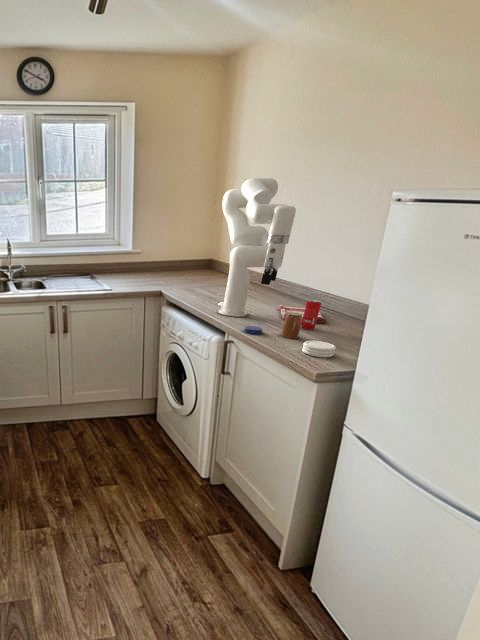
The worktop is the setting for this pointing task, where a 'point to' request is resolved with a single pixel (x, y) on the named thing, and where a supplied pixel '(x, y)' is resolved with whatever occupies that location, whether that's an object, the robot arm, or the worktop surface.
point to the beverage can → (311, 314)
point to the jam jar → (292, 325)
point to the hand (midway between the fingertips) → (268, 282)
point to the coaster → (318, 349)
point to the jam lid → (253, 330)
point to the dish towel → (287, 309)
